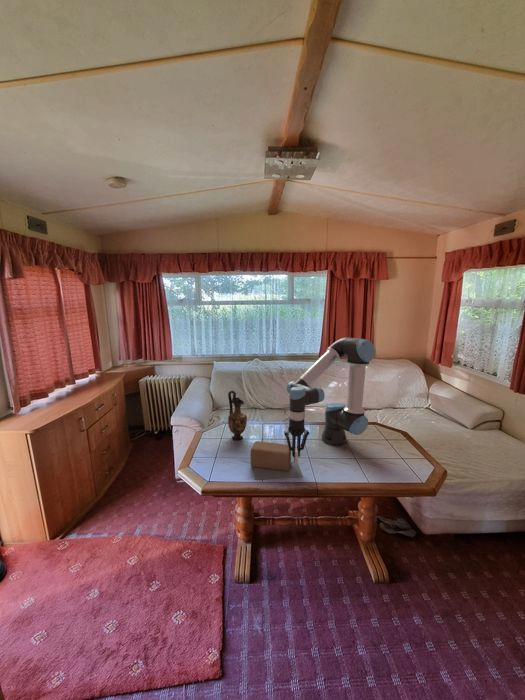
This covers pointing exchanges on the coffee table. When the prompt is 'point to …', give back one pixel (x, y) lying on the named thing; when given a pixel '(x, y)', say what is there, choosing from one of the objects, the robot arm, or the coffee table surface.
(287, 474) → the mat
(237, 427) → the vase
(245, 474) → the coffee table surface
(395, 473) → the coffee table surface
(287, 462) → the block
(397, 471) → the coffee table surface
